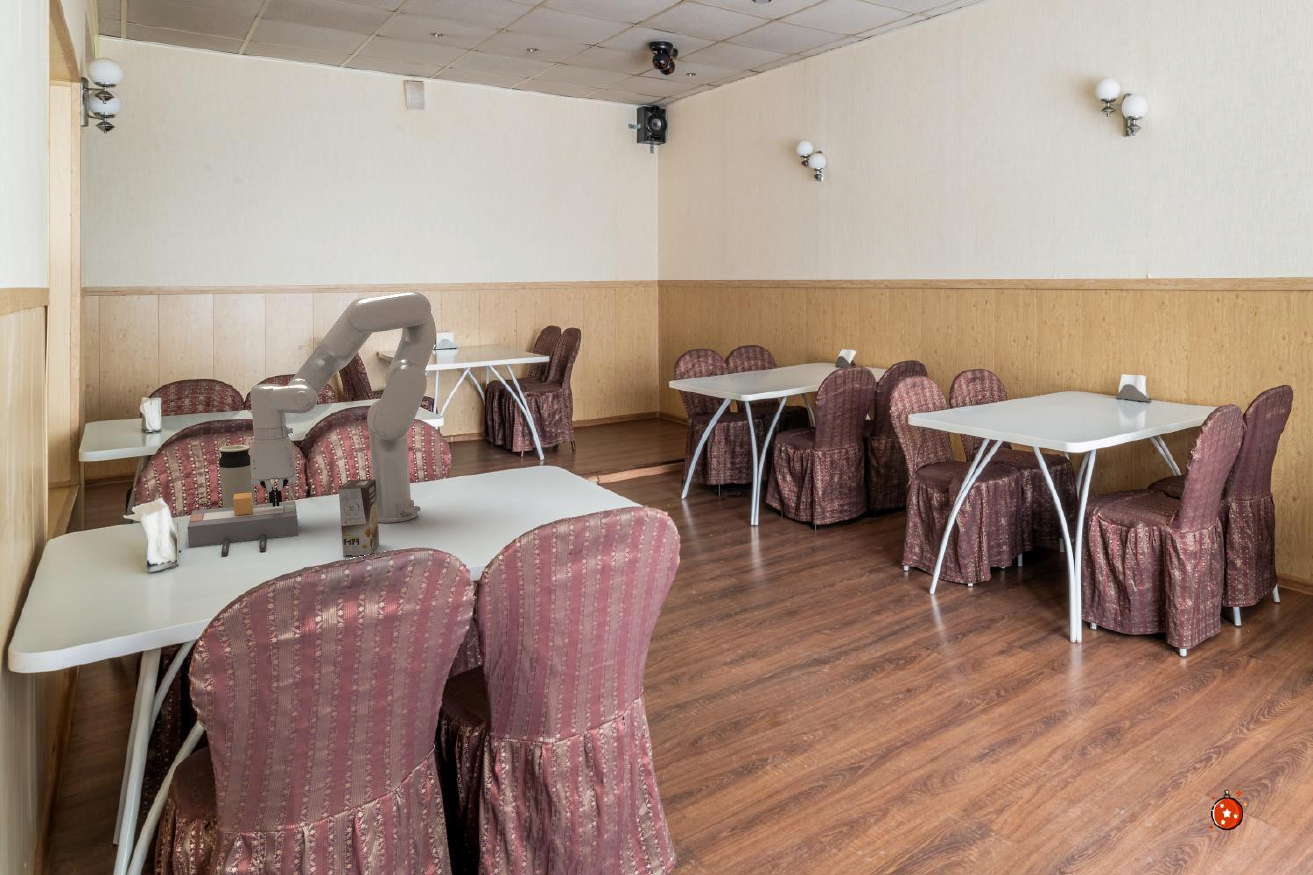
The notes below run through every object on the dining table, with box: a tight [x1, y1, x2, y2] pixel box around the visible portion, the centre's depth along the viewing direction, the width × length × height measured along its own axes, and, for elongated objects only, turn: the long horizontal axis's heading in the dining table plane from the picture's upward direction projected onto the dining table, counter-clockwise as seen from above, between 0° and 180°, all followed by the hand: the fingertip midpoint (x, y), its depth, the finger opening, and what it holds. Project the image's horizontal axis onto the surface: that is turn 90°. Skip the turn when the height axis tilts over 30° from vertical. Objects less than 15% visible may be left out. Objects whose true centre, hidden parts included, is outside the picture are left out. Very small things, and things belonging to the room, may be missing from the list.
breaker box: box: [186, 500, 299, 557], centre depth 214 cm, size 24×27×5 cm
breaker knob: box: [233, 492, 253, 515], centre depth 218 cm, size 4×6×4 cm, turn 23°
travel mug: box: [218, 444, 257, 508], centre depth 237 cm, size 8×8×18 cm
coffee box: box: [338, 478, 380, 557], centre depth 203 cm, size 9×6×16 cm
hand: (276, 505), depth 221 cm, fingers closed
